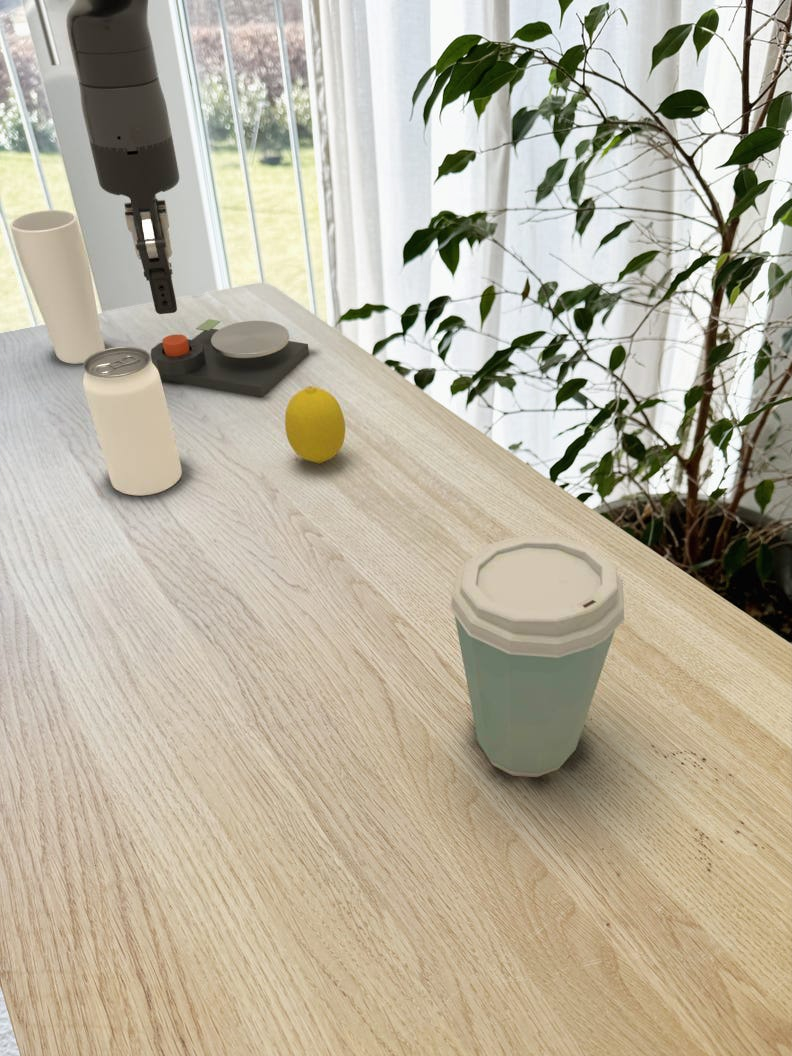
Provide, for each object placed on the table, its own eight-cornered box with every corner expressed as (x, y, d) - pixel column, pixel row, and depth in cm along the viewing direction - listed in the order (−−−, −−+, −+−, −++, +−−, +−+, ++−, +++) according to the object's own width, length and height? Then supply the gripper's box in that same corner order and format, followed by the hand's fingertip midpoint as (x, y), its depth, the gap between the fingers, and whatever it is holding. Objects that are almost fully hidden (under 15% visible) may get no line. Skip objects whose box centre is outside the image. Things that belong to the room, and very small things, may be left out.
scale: (146, 382, 109) (140, 356, 107) (203, 338, 117) (199, 313, 115) (258, 402, 106) (254, 376, 104) (309, 355, 114) (306, 330, 112)
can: (99, 479, 94) (63, 361, 87) (160, 454, 98) (131, 337, 90) (135, 507, 91) (101, 386, 83) (196, 480, 94) (169, 360, 86)
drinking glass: (38, 365, 112) (-5, 228, 102) (71, 339, 117) (32, 206, 107) (93, 371, 111) (54, 234, 101) (123, 345, 116) (89, 211, 106)
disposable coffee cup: (421, 736, 70) (411, 563, 60) (536, 667, 75) (544, 498, 65) (524, 830, 64) (531, 654, 54) (641, 748, 69) (667, 574, 59)
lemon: (283, 457, 97) (271, 381, 92) (336, 443, 99) (328, 368, 94) (302, 484, 94) (291, 407, 88) (357, 469, 96) (350, 393, 90)
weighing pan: (172, 347, 109) (170, 343, 108) (212, 316, 115) (211, 312, 114) (266, 363, 106) (265, 358, 106) (302, 330, 112) (302, 326, 111)
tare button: (160, 356, 108) (157, 342, 107) (173, 346, 110) (170, 332, 109) (181, 359, 107) (178, 346, 106) (194, 349, 109) (191, 336, 108)
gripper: (88, 116, 98) (128, 289, 110) (87, 156, 89) (131, 341, 100) (167, 111, 100) (199, 283, 111) (174, 150, 90) (207, 333, 102)
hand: (166, 310), depth 106 cm, fingers closed
